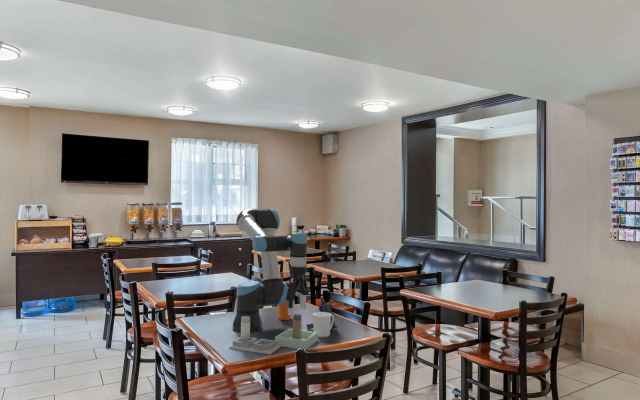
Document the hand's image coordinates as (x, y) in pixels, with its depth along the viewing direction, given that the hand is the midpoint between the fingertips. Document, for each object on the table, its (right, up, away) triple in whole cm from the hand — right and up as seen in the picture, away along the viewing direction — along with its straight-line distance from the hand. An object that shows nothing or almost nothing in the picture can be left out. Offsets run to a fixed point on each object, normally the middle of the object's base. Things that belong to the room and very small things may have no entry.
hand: (297, 311), depth 196 cm
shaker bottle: (-9, -16, +43) cm, 47 cm away
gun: (+11, -15, +22) cm, 29 cm away
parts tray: (0, -14, -1) cm, 14 cm away
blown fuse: (0, -13, -1) cm, 13 cm away
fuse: (-23, -13, -7) cm, 27 cm away
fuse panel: (-18, -14, -9) cm, 24 cm away
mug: (+12, -15, +13) cm, 23 cm away
